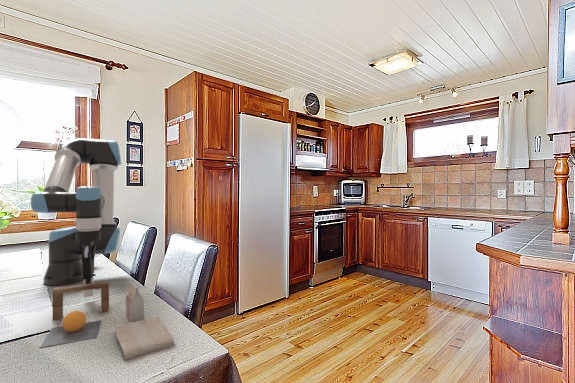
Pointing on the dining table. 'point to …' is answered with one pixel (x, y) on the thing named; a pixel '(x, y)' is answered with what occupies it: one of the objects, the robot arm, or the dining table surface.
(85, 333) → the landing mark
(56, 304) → the bridge
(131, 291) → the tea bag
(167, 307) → the dining table surface
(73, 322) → the ball
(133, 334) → the washcloth
